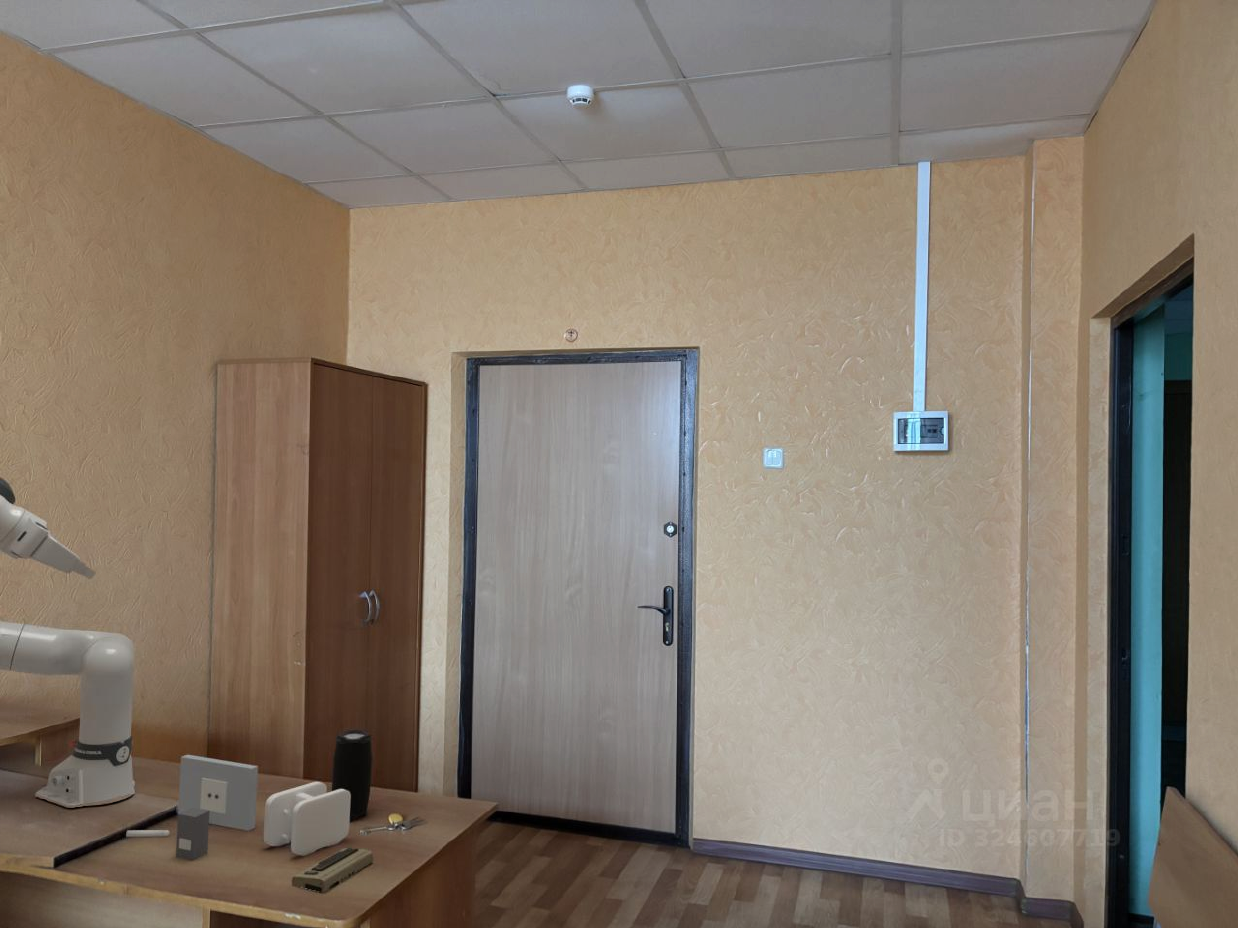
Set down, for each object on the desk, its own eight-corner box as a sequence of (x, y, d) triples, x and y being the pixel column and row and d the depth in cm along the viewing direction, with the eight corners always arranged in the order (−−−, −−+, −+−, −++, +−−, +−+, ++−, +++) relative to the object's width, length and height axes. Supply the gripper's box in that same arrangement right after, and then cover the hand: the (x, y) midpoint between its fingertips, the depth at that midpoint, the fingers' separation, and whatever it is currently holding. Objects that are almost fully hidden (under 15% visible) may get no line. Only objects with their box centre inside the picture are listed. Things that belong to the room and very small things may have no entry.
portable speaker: (343, 806, 219) (348, 726, 220) (376, 812, 216) (381, 731, 217) (322, 818, 211) (326, 735, 212) (355, 824, 208) (360, 740, 209)
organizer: (291, 862, 187) (294, 806, 187) (261, 848, 193) (263, 794, 193) (349, 840, 200) (352, 787, 200) (319, 828, 206) (321, 777, 206)
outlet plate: (176, 817, 208) (179, 757, 208) (184, 814, 210) (187, 754, 210) (247, 831, 202) (250, 769, 202) (254, 827, 204) (258, 766, 204)
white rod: (126, 838, 196) (126, 831, 196) (128, 835, 197) (128, 829, 197) (167, 837, 197) (168, 831, 197) (170, 835, 198) (170, 828, 198)
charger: (175, 856, 187) (177, 813, 187) (194, 847, 192) (196, 805, 192) (192, 860, 186) (195, 816, 186) (211, 850, 191) (213, 808, 191)
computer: (342, 857, 191) (342, 841, 192) (373, 864, 189) (374, 849, 189) (290, 887, 177) (291, 870, 177) (323, 895, 174) (324, 878, 174)
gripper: (4, 542, 182) (68, 577, 190) (19, 556, 167) (87, 593, 175) (26, 517, 185) (88, 552, 192) (42, 528, 169) (109, 565, 177)
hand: (88, 571), depth 183 cm, fingers open, 8 cm apart
